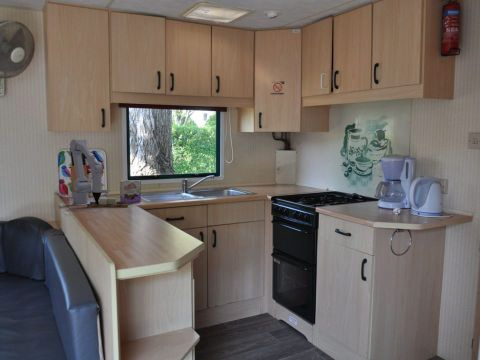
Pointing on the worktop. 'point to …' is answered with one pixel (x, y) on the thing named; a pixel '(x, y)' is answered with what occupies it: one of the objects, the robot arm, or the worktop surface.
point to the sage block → (111, 200)
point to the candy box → (130, 191)
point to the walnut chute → (118, 204)
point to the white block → (103, 200)
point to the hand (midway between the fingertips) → (96, 204)
